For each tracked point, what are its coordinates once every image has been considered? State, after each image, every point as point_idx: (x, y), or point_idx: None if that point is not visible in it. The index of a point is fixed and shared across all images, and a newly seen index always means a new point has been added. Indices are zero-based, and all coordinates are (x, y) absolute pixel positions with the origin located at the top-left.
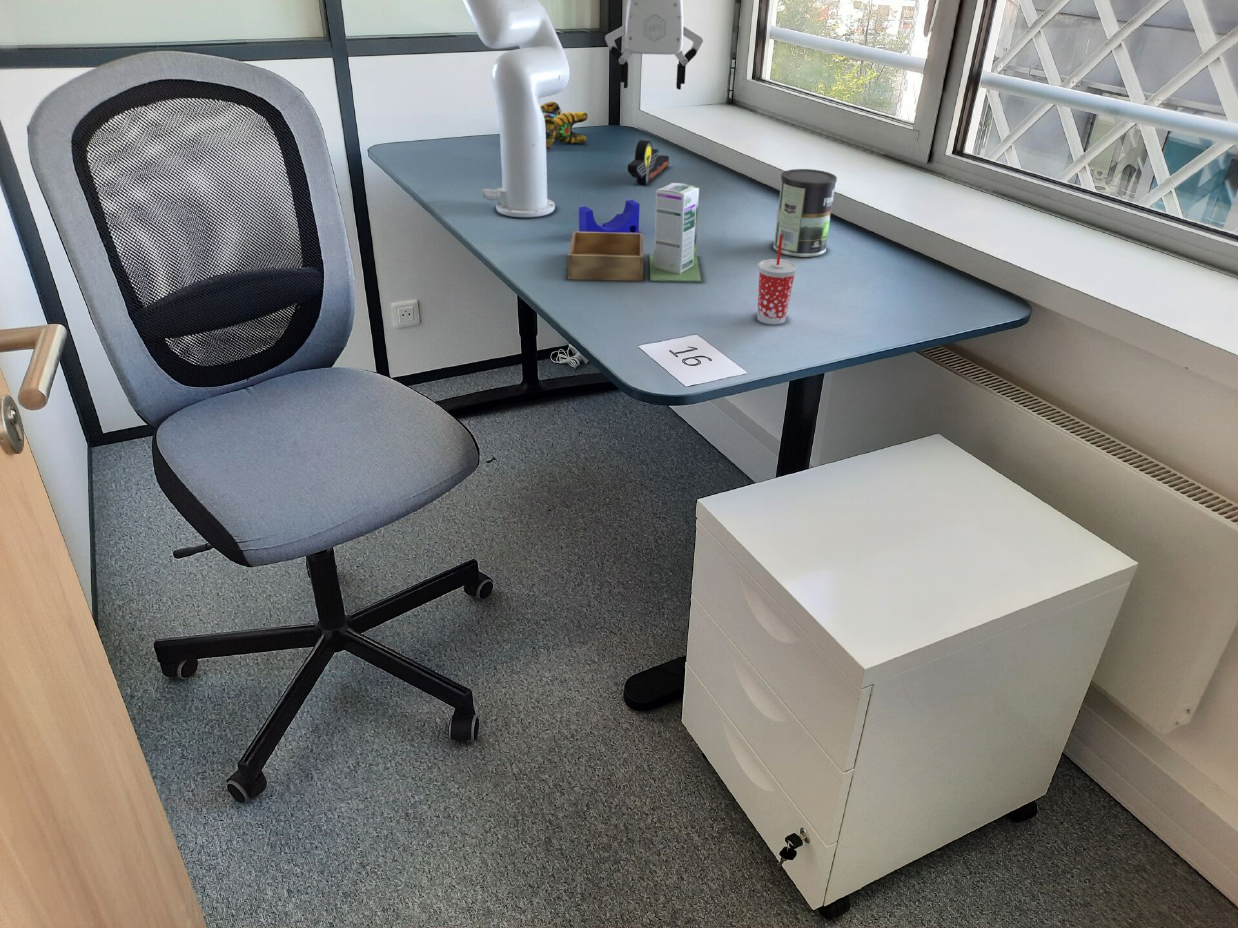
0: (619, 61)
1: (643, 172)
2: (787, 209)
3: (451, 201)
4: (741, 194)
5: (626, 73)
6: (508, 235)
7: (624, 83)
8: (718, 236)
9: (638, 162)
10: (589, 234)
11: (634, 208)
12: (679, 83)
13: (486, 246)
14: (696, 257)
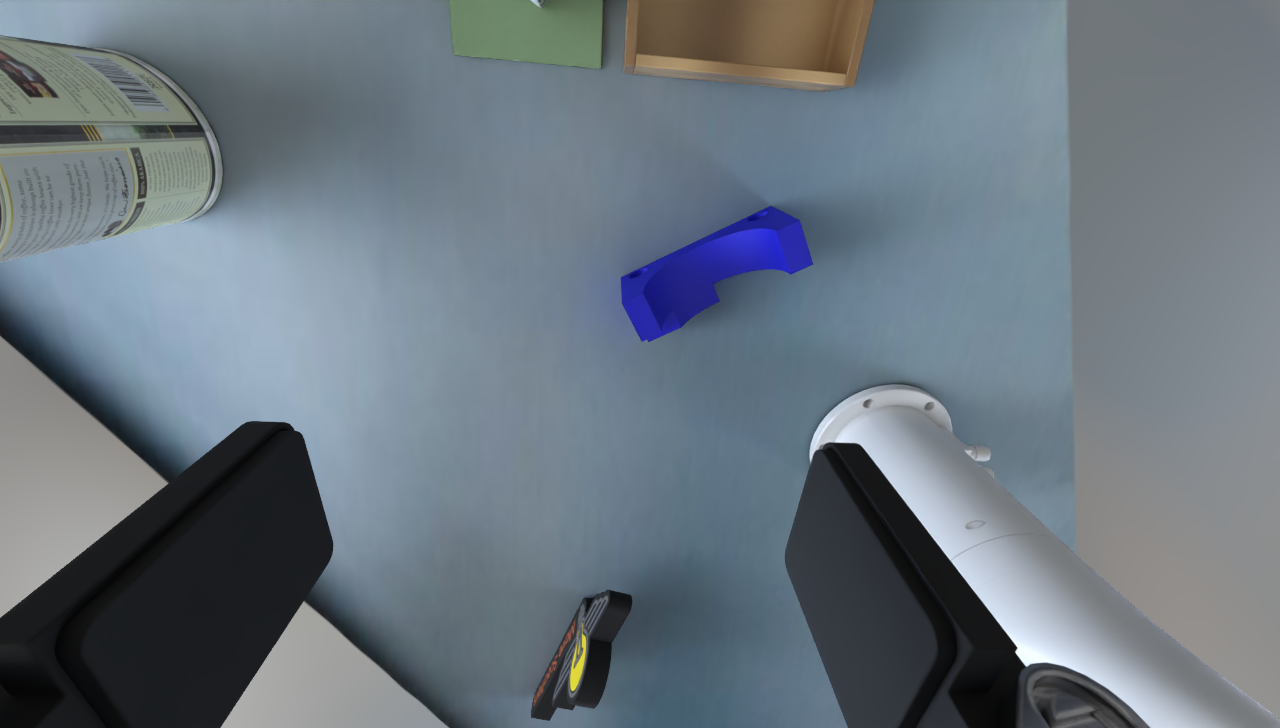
0: (1118, 711)
1: (591, 612)
2: (34, 81)
3: (1024, 488)
4: (363, 558)
5: (906, 545)
6: (961, 258)
7: (869, 466)
8: (399, 257)
9: (604, 624)
10: (801, 69)
11: (637, 293)
12: (226, 452)
13: (1042, 165)
14: (453, 35)
